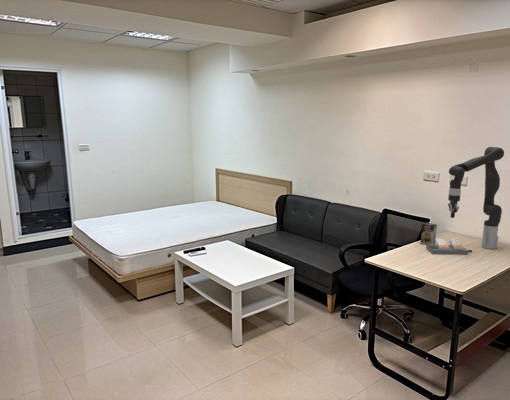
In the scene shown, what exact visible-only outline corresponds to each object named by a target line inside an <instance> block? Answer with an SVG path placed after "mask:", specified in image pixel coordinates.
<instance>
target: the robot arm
mask: <svg viewBox="0 0 510 400" xmlns="http://www.w3.org/2000/svg"><path fill="white" fill-rule="evenodd" d="M483 154H484V155H482V156H478V157H474V158H471V159H468V160H467V161H464V162H462V163H458V164H454V165H452V166H451V167H450V168H449V170H448V173H449V175H450V176H452V177H454V178H453V179H451V180H450V182H449V189H448V197H447V199H448V202H449V203H447V206H448V211H449V213H450V218H451V219H454V218H455V215H456V214H455V213H457V212H458V210H459V208H460V207H459V205H458V204H459V203H458V202H460V201H461V194H462V193H461V191H462V190H461V186H462V182H463V179H464V176H465V173H466V172H467V173H468V172H471V171H472V170H474V169H476V168H479V167H481V166H484V168H485V169H484V170H485V173H484V175H485V178H484V199H483V200H484V201H483V208H482V211H483V214H484V215H486V216H488V219H486V220H484V221H483V231H482V239H481V247H482V248H484V249H488V250H495V249H497V248H498V242H499V235H498V233H499V232H498V231H499V224H500V223H501V219H502V213H503V209H502V207H501V205H498V204H495V197H496V194H497V193H498V190H499V189H500V185H501V178H500V174H499V172H498V170H497V168H496V162H497V161H500V160H501V159H502V158H503V157H504V156H505V150H504V149H503V148H502V147H497V146H488V147H486V148H485V151H484V153H483Z"/></svg>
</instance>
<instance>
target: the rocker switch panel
mask: <svg viewBox="0 0 510 400" xmlns="http://www.w3.org/2000/svg"><path fill="white" fill-rule="evenodd" d="M447 245H448V244H447ZM448 247H449V249H448V250H440V249H439V247H438V246H437V244H435V245H426V247H425V248H426V249H425V250H427V251H428V252H429V253H430V252H431V254H432V255H463V256H465V255H466V256H467V255H469V253H472V252H473V250H472V249H468V248H466V247H465V246H463V249H454V248H453V247H452V246H451V244H449V245H448Z"/></svg>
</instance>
